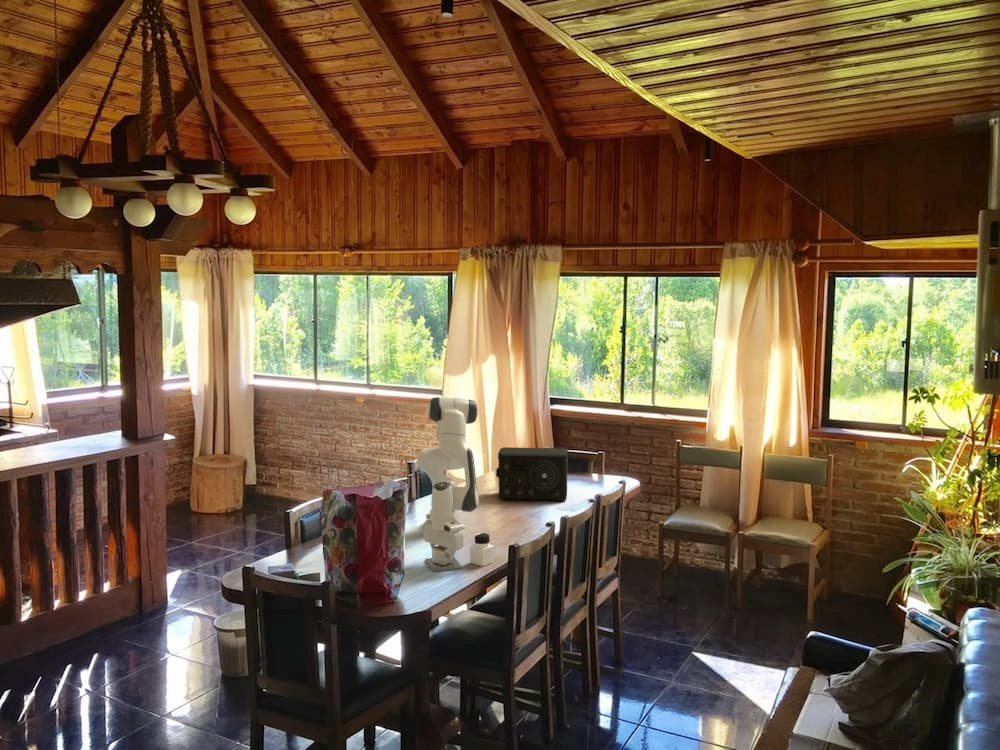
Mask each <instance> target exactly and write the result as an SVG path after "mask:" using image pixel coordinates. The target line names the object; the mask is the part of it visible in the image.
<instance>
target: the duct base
mask: <svg viewBox="0 0 1000 750" xmlns="http://www.w3.org/2000/svg"><path fill="white" fill-rule="evenodd" d="M424 562H425V563H426V565H427V566H428V568H429V569H430V571H431V572H432V573H436V572H437V573H438V572H439V573H440V572H446V571H447V572H449V571H454V570H455V571H457V570H462V569H463V566H462V565H461V564H460V563H459V561H458V560H457V558H456V557H454V562H451V563H448V564H445V565H441V564H438V563H434V562H432V557H429V558H428V557H427V558H424Z"/></svg>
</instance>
